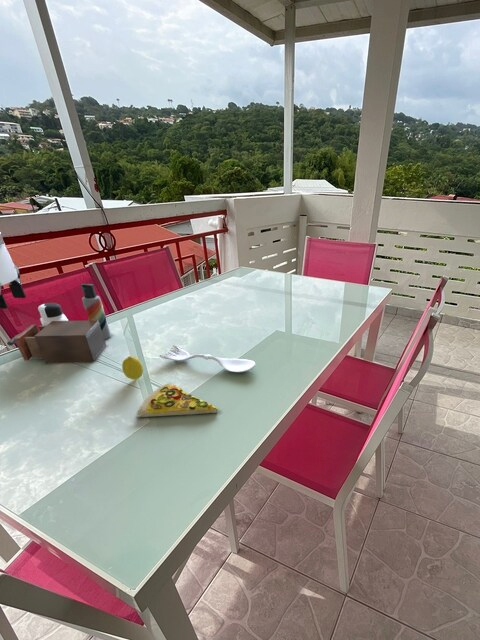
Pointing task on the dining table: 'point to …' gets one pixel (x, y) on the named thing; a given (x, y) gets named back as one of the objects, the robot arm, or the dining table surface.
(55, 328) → the cabinet
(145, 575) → the dining table surface
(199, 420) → the dining table surface
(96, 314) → the lotion bottle
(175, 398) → the pizza slice
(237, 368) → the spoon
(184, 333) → the dining table surface
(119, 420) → the dining table surface
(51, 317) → the container
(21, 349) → the drawer
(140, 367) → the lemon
